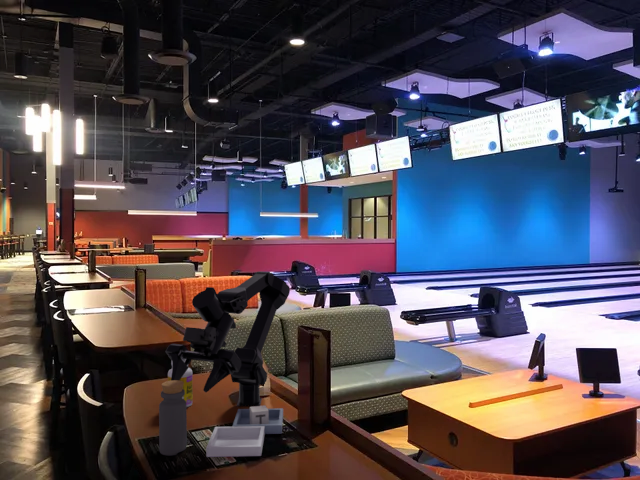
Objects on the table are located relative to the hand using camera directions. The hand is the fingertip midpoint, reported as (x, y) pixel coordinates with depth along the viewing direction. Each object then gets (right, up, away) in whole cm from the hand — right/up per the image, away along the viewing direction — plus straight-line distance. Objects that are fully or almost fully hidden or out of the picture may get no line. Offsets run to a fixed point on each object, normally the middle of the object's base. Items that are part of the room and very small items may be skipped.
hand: (188, 389), depth 121 cm
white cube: (+15, -11, +9) cm, 21 cm away
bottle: (-2, -12, -5) cm, 13 cm away
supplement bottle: (-8, -12, +24) cm, 28 cm away
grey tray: (+12, -12, -3) cm, 17 cm away
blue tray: (+15, -12, +9) cm, 21 cm away
